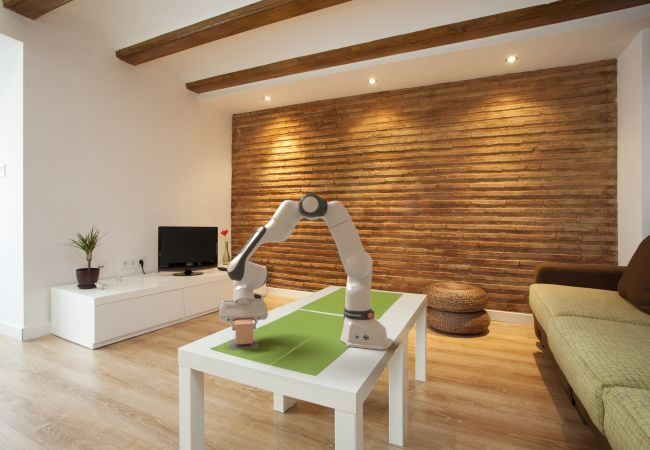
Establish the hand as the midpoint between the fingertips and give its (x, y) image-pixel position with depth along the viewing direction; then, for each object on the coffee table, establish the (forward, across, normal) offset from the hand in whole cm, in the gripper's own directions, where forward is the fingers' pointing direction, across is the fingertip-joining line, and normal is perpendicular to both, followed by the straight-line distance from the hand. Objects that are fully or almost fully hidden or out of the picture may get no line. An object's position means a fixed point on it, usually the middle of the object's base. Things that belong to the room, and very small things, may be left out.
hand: (244, 329), depth 145 cm
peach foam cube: (+4, 0, +3) cm, 5 cm away
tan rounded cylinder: (+5, 0, +4) cm, 6 cm away
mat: (+5, 0, +4) cm, 6 cm away
